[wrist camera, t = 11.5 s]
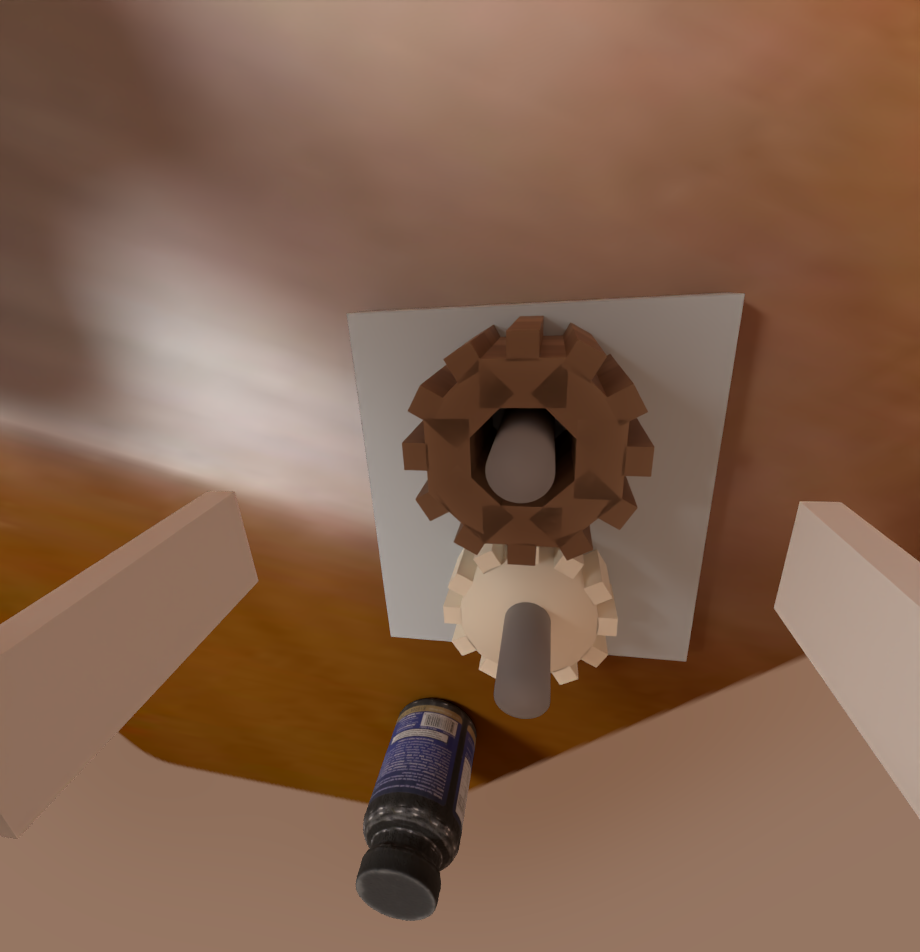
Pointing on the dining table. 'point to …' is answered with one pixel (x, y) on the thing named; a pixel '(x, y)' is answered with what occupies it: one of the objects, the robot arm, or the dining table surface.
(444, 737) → the pill bottle
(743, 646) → the dining table surface
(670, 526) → the gear board
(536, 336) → the walnut gear
